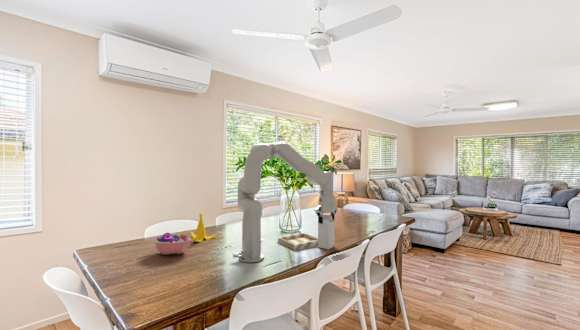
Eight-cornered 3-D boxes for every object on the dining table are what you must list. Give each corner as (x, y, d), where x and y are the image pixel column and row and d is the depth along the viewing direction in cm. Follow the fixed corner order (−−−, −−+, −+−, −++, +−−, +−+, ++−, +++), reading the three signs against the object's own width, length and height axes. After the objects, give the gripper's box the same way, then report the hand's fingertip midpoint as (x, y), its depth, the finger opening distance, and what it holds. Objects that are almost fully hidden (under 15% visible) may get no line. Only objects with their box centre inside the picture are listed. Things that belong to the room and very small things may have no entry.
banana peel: (192, 245, 167) (192, 217, 166) (189, 236, 184) (189, 211, 184) (220, 241, 174) (220, 214, 173) (215, 234, 191) (215, 209, 191)
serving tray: (294, 250, 158) (294, 245, 158) (277, 242, 172) (277, 237, 172) (321, 244, 169) (321, 239, 169) (303, 237, 184) (303, 232, 184)
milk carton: (328, 249, 159) (328, 216, 159) (317, 247, 163) (318, 215, 163) (334, 246, 165) (334, 214, 164) (323, 244, 169) (324, 213, 169)
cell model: (180, 260, 141) (180, 238, 141) (145, 257, 145) (145, 236, 145) (198, 250, 158) (198, 230, 157) (166, 247, 162) (166, 228, 161)
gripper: (319, 194, 155) (319, 225, 156) (342, 192, 165) (341, 221, 166) (311, 193, 161) (310, 222, 162) (333, 191, 171) (332, 219, 172)
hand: (326, 222), depth 164 cm, fingers closed on milk carton, 8 cm apart
